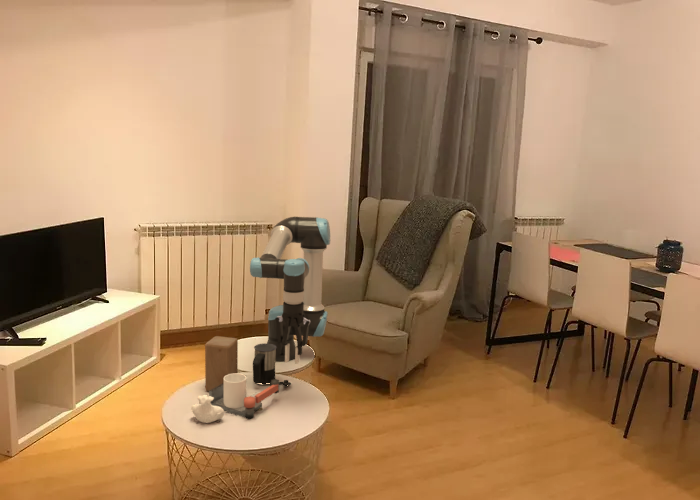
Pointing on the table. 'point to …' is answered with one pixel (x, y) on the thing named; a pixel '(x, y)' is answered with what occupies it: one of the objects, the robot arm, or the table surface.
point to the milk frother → (265, 364)
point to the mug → (234, 390)
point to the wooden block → (220, 360)
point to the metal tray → (242, 411)
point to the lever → (261, 395)
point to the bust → (207, 410)
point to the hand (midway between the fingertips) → (292, 361)
